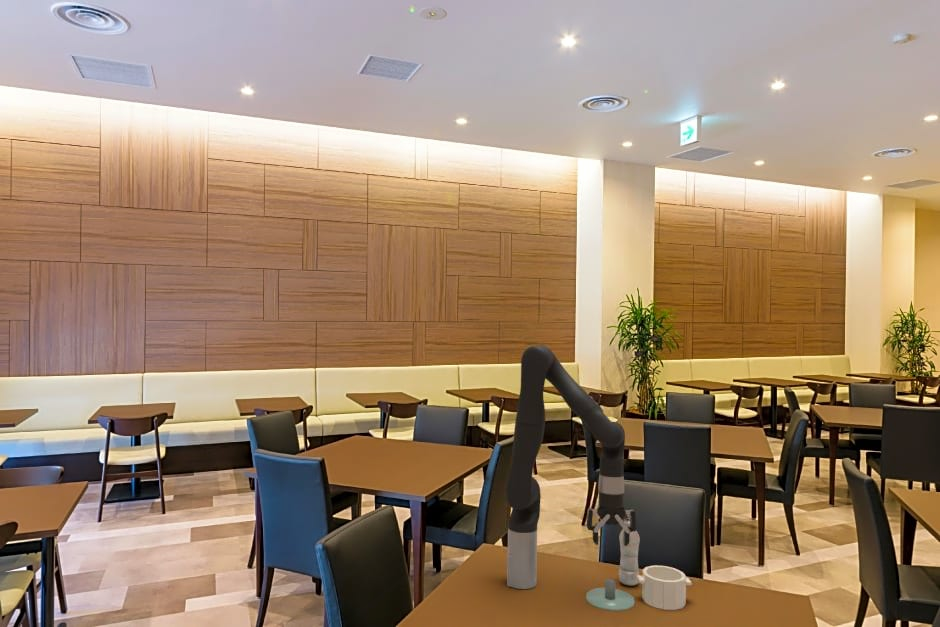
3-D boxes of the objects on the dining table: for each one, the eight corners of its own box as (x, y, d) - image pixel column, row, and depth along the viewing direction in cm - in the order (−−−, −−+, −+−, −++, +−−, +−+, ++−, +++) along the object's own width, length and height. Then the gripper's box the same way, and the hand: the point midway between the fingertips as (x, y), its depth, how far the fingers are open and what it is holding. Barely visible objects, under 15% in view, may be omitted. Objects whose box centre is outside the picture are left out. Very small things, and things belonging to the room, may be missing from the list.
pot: (642, 608, 176) (642, 580, 176) (633, 590, 188) (633, 564, 188) (696, 610, 175) (696, 582, 176) (683, 592, 187) (683, 566, 188)
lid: (589, 610, 175) (589, 589, 175) (583, 590, 189) (583, 570, 189) (639, 612, 174) (639, 591, 174) (628, 591, 188) (629, 572, 188)
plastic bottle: (637, 580, 196) (638, 517, 197) (641, 589, 190) (642, 524, 190) (616, 579, 197) (617, 516, 197) (620, 587, 190) (620, 523, 191)
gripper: (589, 492, 179) (588, 548, 179) (638, 493, 178) (637, 549, 178) (585, 486, 187) (585, 539, 186) (632, 487, 186) (632, 541, 185)
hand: (610, 544), depth 182 cm, fingers open, 8 cm apart
